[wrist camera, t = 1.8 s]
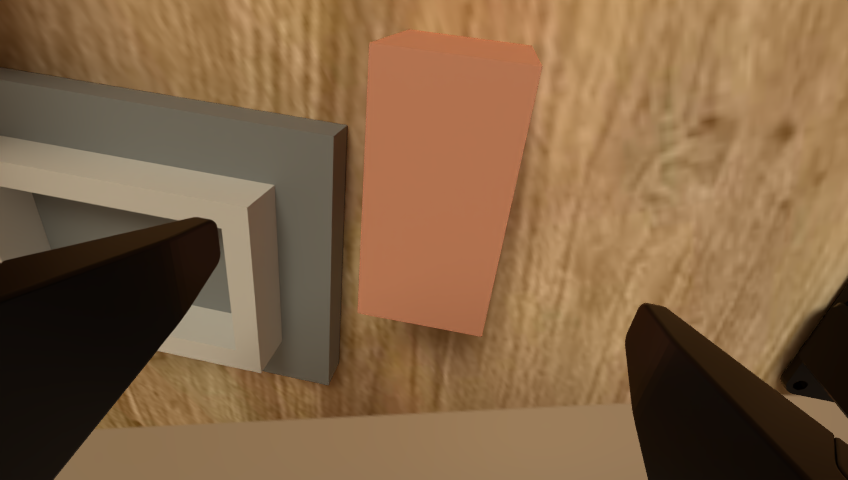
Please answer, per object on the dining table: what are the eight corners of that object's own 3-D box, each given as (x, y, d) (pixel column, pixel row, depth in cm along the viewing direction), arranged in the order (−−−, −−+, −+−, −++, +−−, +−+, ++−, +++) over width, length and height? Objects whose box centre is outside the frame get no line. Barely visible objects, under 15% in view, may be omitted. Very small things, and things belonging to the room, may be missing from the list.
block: (409, 29, 15) (369, 42, 10) (531, 45, 14) (542, 66, 10) (392, 239, 19) (357, 313, 14) (487, 256, 18) (481, 336, 14)
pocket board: (347, 125, 16) (311, 154, 13) (338, 362, 22) (312, 420, 19) (-43, 60, 18) (-156, 73, 15) (46, 300, 24) (-21, 345, 21)
